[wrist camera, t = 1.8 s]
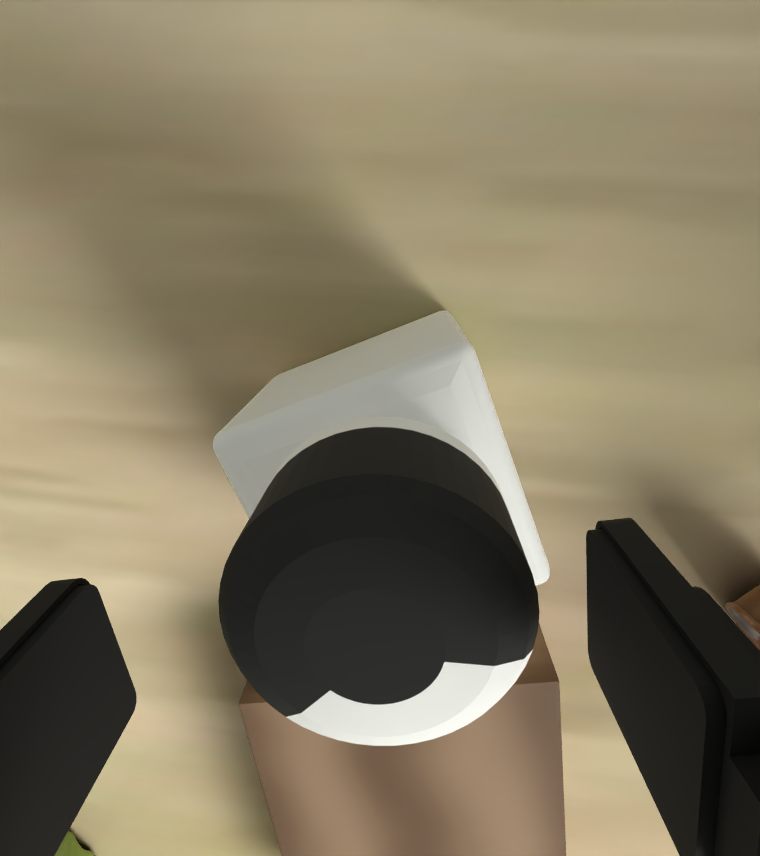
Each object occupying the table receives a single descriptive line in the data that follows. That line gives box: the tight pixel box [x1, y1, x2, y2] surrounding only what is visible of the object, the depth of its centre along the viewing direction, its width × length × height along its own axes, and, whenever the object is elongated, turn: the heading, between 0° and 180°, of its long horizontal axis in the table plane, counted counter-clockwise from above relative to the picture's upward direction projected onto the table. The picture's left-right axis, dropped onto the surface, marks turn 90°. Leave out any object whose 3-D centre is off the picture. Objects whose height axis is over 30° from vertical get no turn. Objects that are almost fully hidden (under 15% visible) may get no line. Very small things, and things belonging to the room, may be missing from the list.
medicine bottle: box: [212, 310, 550, 746], centre depth 15 cm, size 7×7×12 cm
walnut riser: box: [239, 622, 566, 856], centre depth 24 cm, size 12×16×4 cm
